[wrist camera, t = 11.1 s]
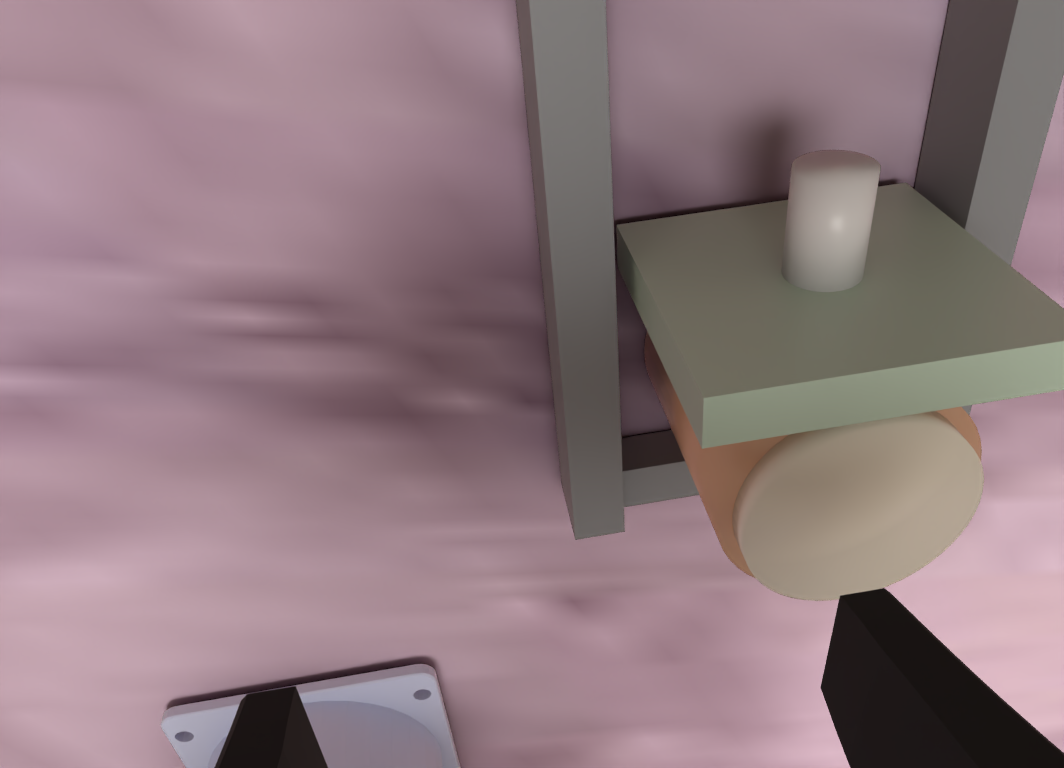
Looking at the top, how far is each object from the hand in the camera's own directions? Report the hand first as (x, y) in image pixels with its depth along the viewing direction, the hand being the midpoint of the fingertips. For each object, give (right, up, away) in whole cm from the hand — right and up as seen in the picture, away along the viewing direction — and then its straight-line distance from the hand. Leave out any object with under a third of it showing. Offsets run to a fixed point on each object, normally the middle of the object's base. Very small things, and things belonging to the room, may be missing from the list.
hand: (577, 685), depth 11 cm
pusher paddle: (+4, +8, +6) cm, 11 cm away
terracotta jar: (+5, +5, +9) cm, 11 cm away
